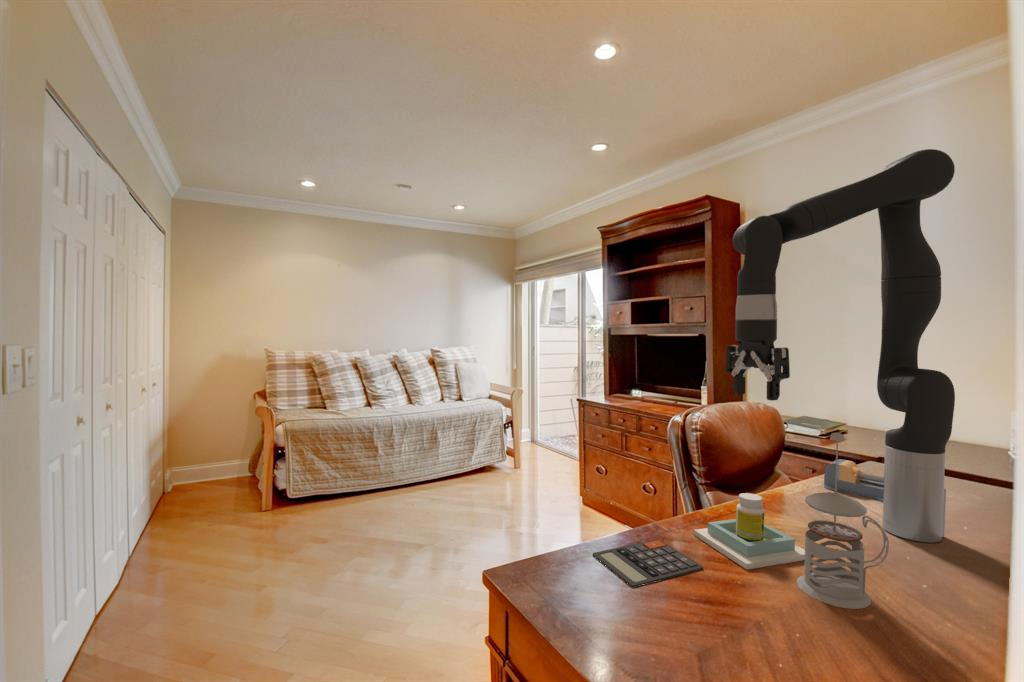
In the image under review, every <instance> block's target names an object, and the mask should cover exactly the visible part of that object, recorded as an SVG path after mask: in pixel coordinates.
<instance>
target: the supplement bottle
mask: <svg viewBox="0 0 1024 682" xmlns="http://www.w3.org/2000/svg"><path fill="white" fill-rule="evenodd" d="M763 500H764V499H763V497H762V496H761V495H758V494H755V493H750V492H745V493H744V492H743V493H742V492H741V493H739V494H738V504H737V505H736V507H735V509H736V510H735V514H736V515H735V516H736V517H735V519H736V536H738V537H740V538H742V539H743V540H745V541H747V542H755V541H761V540H764V524H765V509H764V508H763V504H764V503H763Z"/></svg>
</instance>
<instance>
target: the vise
mask: <svg viewBox="0 0 1024 682" xmlns="http://www.w3.org/2000/svg"><path fill="white" fill-rule="evenodd" d="M823 472H824V477H823V487H824V489H826V490H829V491H833V492H835V476H836V459H835V460H834V461H832V462H829V463H828V464H827V465H826V466H825V467H824V471H823ZM837 492H845V493H850V494H853V495H858V496H863V497H866V498H871V499H875V500H876V501H878V502H881V503H883V493H884V475H880V474H874V473H869V472H864V471H863V470H862V469H861V467H859V466H858V465H857V464H856V462H854V461H852V460H847V459H842V458H839V459H838V461H837Z"/></svg>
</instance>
